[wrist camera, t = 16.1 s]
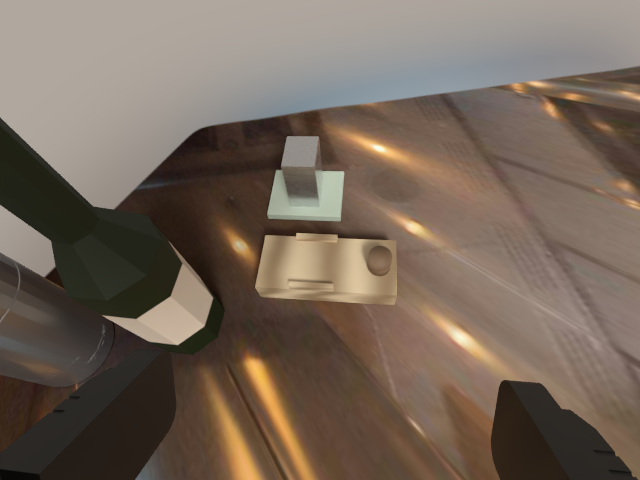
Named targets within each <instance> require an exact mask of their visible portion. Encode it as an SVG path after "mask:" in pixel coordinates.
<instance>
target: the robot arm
mask: <svg viewBox="0 0 640 480" xmlns="http://www.w3.org/2000/svg"><path fill="white" fill-rule="evenodd" d="M113 340H114V328H113V323H112V321H111V320H109V319H107V318H105V317H104V316H102V315H100V314H98V313H96V312H94V311H93V310H91V309H89V308H87V307H85V306H84V305H82V304H80V303H78V302H76V301H75V300H73V299H71V298H69V297H68V296H67V294H66V291H65V289H63V288H61V287H60V286H58V285H56V284H54V283H53V282H51V281H49V280H47V279H46V278H44V277H42V276H40V275H39V274H37V273H35V272H33V271H32V270H30V269H28V268H26V267H25V266H23V265H21V264H19V263H18V262H16V261H14V260H12V259H10V258H9V257H7V256H5V255H3V254H2V253H0V375H4V376H9V377H13V378H17V379H22V380H25V381H30V382H34V383H39V384H43V385H48V386H53V387H66V386H71V385H74V384H77V383H79V382H81V381H82V380H84V379H86V378H87V377H89V376H90V375H91V374H93V373H94V372H95V371H96V370H97V369H98V368H99V367H100V366H101V365H102V363H103V362H104V360H105V359H106V357H107V356H108V354H109V352H110V350H111V347H112V343H113ZM175 412H176V397H175V387H174V377H173V367H172V358H171V355H170V354H169V352H167V351H156V350H144V349H137V350H134V351H133V352H132V353H131V354H129V355H128V356H127V357H126V358H125V359H124V360H123V361H121V362H120V363H119V364H118V365H117V366H116V367H114V368H110V369H109V370H107V371H105V372H103V373H101V374H99V375H97V376H95V377H93V378H92V379H90V380H88V381H87V382H86V383H84V384H83V385H82V386H81V387H80V388H78V389H77V390H76V391H75V392H74V393H72V394H71V395H70V397H69V399H65V400H64V401H63V402H62V403H60V404H59V405H58V406H57V407H56V408H54V410H53V412H52V413H48V414H47V415H46V416H45V417H44V418H42V419H41V420H40V421H39V422H38V423H36V424H35V425H34V426H33V427H32V428H30V429H29V430H28V431H27V432H26V433H25V434H23V435H22V436H21V437H20V438H19V439H17V440H16V441H15V442H14V443H13V444H11V445H10V446H9V447H8V448H7V449H5V450H4V451H3V452H2V453H1V454H0V480H135V479H136V477H137V476H138V474H139V473H140V472H141V470H142V469H143V467H144V466H145V464H146V463H147V461H148V460H149V459H150V457H151V456H152V454H153V453H154V451H155V450H156V449H157V447H158V446H159V444H160V443H161V441H162V440H163V438H164V437H165V436H166V434H167V433H168V431H169V429H170V427H171V425H172V423H173V420H174V417H175ZM491 449H492V456H493V461H494V464H495V467H496V470H497V472H498V475H499V477H500V480H638V479H637V478H636V477H633V476H632V474H631V471H630V470H629V468H628V467H627V466H626V465H625V464H624V462H623V461H622V460H621V459H620V458H619V457H617V456H615V452H614V450H613V449H612V448H611V447H610V446H609V444H608V443H607V442H606V441H605V440H604V438H603V437H602V436H601V435H600V434H599V432H598V431H597V430H596V429H595V428H594V427H592V426H591V425H590V424H588V423H587V422H586V421H584V420H583V419H582V418H580V417H579V416H578V415H576V414H575V413H574V412H572V411H571V410H566V409H561V408H560V406H559V405H558V404H557V402H556V401H555V400H554V399H553V397H552V396H551V395H550V393H549V392H548V391H547V389H546V388H545V387H544V386H543V385H542V384H540V383H533V382H521V381H509V380H504V381H502V382H501V384H500V387H499V391H498V398H497V404H496V410H495V416H494V423H493V429H492V435H491Z"/></svg>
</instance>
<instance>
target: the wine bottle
mask: <svg viewBox="0 0 640 480" xmlns="http://www.w3.org/2000/svg"><path fill="white" fill-rule="evenodd" d="M0 205H2V206H3V207H4V208H6V209H7V210H8V211H10V212H11V213H13V214H14V215H16V216H17V217H18V218H20V219H21V220H23V221H24V222H25V223H27V224H28V225H30V226H31V227H33V228H34V229H35V230H37V231H38V232H40V233H41V234H42V235H44V236H45V237H47V238H48V239H49V240H51V242H52V248H53V254H54V259H55V265H56V269H57V271H58V274H59V276H60V279H61V281H62V284H63V286H64V289H65V291H66V294H67V296H68V297H69V298H71V299H73V300H75V301H76V302H78V303H80V304H82V305H84V306H85V307H87V308H89V309H91V310H93V311H94V312H96V313H98V314H100V315H102V316H104V317H105V318H107V319H109V320H111V321H113V322H114V323H116V324H118V325H120V326H122V327H123V328H125V329H127V330H129V331H131V332H133V333H134V334H136V335H138V336H140V337H142V338H143V339H145V340H147V341H149V342H151V343H152V344H154V345H156V346H158V347H160V348H162V349H163V350H165V351H168V352H176V353H184V354H192V355H193V354H195V353H196V352H197V351H199V350H200V349H202V348H203V347H204V346H206V345H207V344H209V343H210V342H211V341H213V340H214V339H215V338H217V337H218V333H219V330H220V326H221V322H222V319H223V315H224V309H223V307H222V306H221V304H220V303H219V301H218V300H217V298H216V297H215V295H214V294H213V292H212V291H211V290H210V289H209V287H208V286H207V285H206V284H205V283H204V282H203V280H202V279H201V278H200V277H199V276H198V275H197V273H196V272H195V271H194V270H193V269H192V268H191V266H190V265H189V264H188V263H187V262H186V261H185V259H184V258H183V257H182V256H181V255H180V254H179V252H178V251H177V250H176V249H175V248H174V247H173V245H172V244H171V243H170V242H169V241H168V240H167V238H166V237H165V236H164V235H163V234H162V233H161V231H160V230H159V229H158V228H157V227H156V226H155V224H154V223H153V222H152V221H151V220H150V219H149V218H148V216H147V215H144V214H138V213H131V212H125V211H118V210H112V209H105V208H98V207H93V206H92V205H91V204H90V203H89V202H88V201H87V200H86V199H85V198H83V197H82V195H80V194H79V193H78V192H77V191H76V190H75V189H74V188H73V187H72V186H71V185H70V184H69V183H68V182H67V181H66V180H65V179H64V178H63V177H62V176H61V175H60V174H58V173H57V172H56V171H55V170H54V169H53V168H52V167H51V166H50V165H49V164H48V163H47V162H46V161H45V160H44V159H43V158H42V157H41V156H40V155H39V154H38V153H36V151H34V150H33V149H32V148H31V147H30V146H29V145H28V144H27V143H26V142H25V141H24V140H23V139H22V138H21V137H20V136H19V135H18V134H17V133H16V132H15V131H13V129H11V128H10V127H9V126H8V125H7V124H6V123H5V122H4V121H3V120H2V119H1V118H0Z"/></svg>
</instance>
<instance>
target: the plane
mask: <svg viewBox="0 0 640 480" xmlns="http://www.w3.org/2000/svg"><path fill="white" fill-rule="evenodd" d="M255 288H256V289H257V291H258V293H259V295H260V296H261V297H271V298H287V299H303V300H319V301H335V302H351V303H367V304H383V305H394V304H395V300H396V297H397V269H396V241H391V240H367V239H344V238H338V236H337V235H331V234H306V233H296V236H273V235H266V236H265V241H264V246H263V251H262V256H261V261H260V266H259V271H258V275H257V280H256V285H255Z"/></svg>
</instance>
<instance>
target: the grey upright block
mask: <svg viewBox="0 0 640 480" xmlns="http://www.w3.org/2000/svg"><path fill="white" fill-rule="evenodd" d="M281 168H282V172H283V176H284V180H285V185H286V189H287V193H288V197H289V201H290V205H291V206H292V207H320V200H321V192H322V183H323V174H322V164H321V154H320V144H319V137H308V136H287V139H286V144H285V149H284V154H283V159H282V164H281Z"/></svg>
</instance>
